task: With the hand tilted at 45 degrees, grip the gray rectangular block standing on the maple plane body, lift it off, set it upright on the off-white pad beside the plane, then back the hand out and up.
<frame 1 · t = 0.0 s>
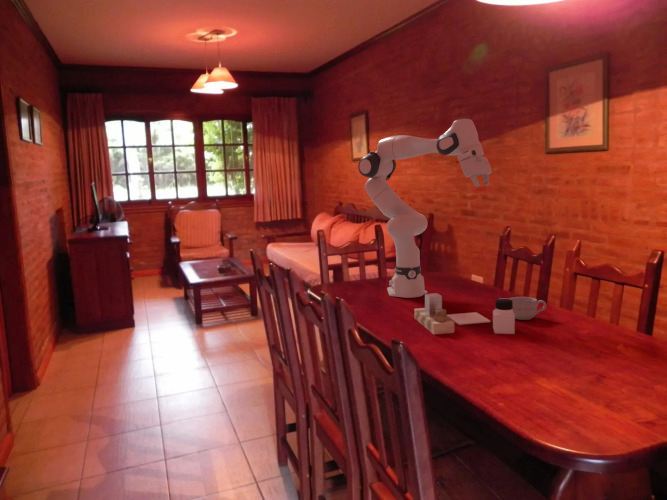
hand: (482, 185, 225), 52 cm above the table, tool tilted 20°, fingers open, 8 cm apart
off-white pad: (467, 318, 214), on the table
teacup: (526, 319, 212), on the table
medicine bottle: (503, 331, 197), on the table
gray rectangular block: (433, 315, 207), point 4 cm above the table, touching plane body
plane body: (433, 325, 207), on the table
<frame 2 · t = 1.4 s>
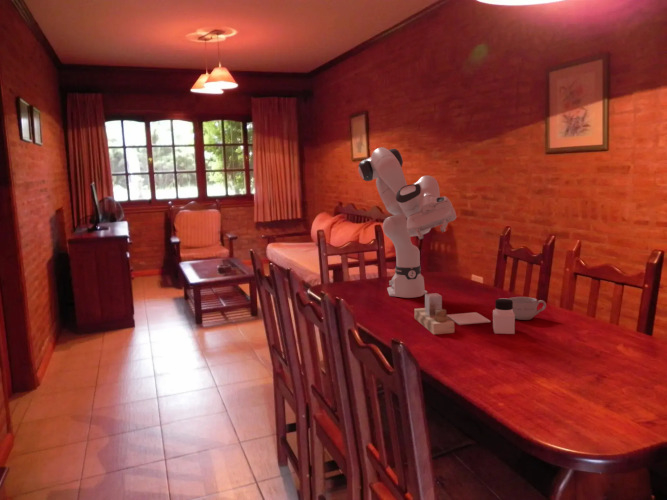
hand: (431, 234, 209), 35 cm above the table, tool tilted 45°, fingers open, 8 cm apart
nothing on the table moved.
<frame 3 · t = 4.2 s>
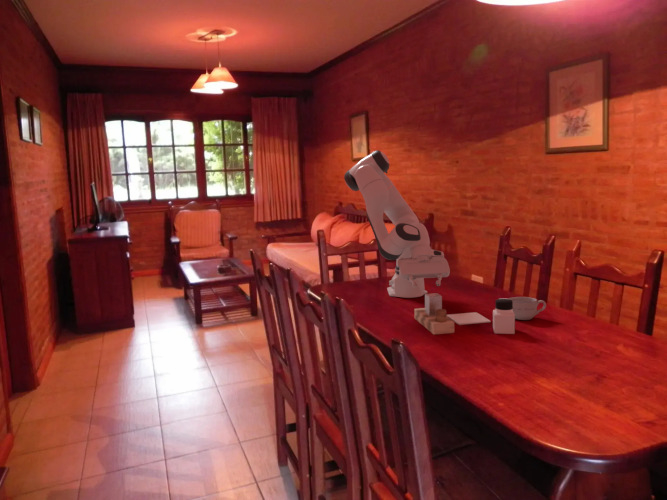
hand: (426, 285, 212), 14 cm above the table, tool tilted 45°, fingers open, 8 cm apart
nothing on the table moved.
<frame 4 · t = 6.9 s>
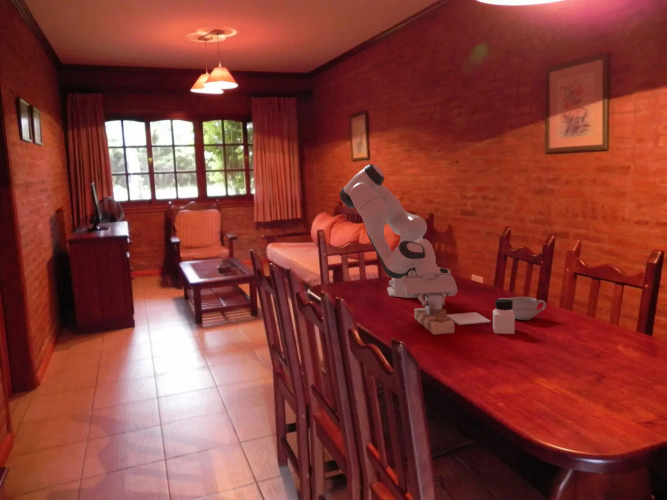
hand: (433, 305, 205), 8 cm above the table, tool tilted 45°, fingers closed on gray rectangular block, 5 cm apart
gray rectangular block: (433, 315, 207), point 4 cm above the table, touching gripper, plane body
everything else where it was.
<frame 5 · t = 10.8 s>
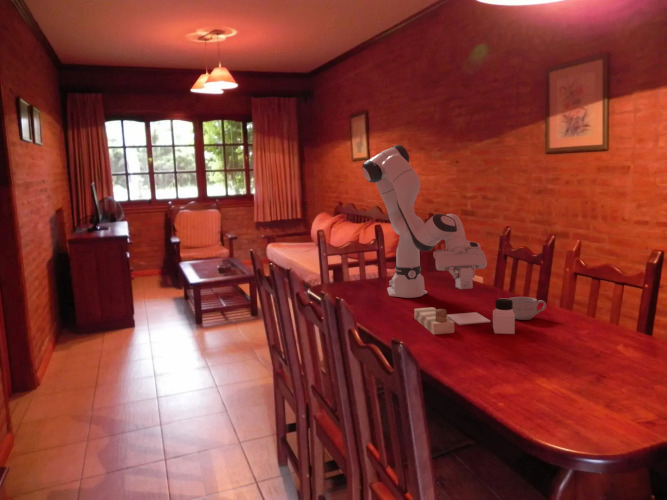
hand: (464, 277, 210), 17 cm above the table, tool tilted 45°, fingers closed on gray rectangular block, 5 cm apart
gray rectangular block: (463, 287, 211), point 13 cm above the table, touching gripper
everything else where it was.
when the fingers open (6 cm above the table, at t = 14.7 s): gray rectangular block drops 2 cm, resting on off-white pad.
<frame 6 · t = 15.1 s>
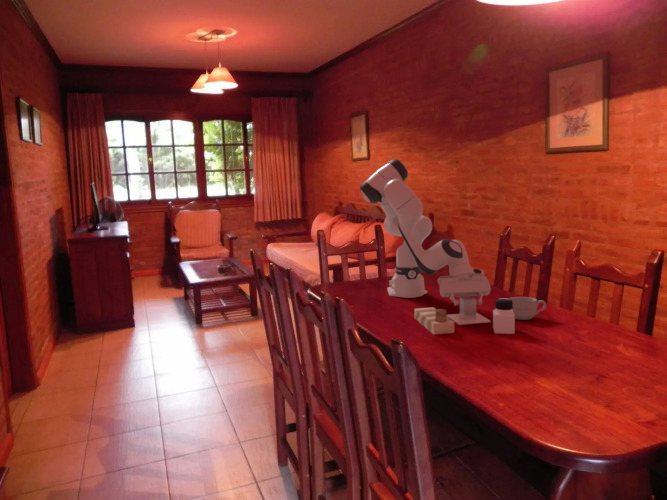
hand: (468, 304, 212), 6 cm above the table, tool tilted 45°, fingers open, 8 cm apart
gray rectangular block: (467, 317, 214), resting on off-white pad
everything else where it was.
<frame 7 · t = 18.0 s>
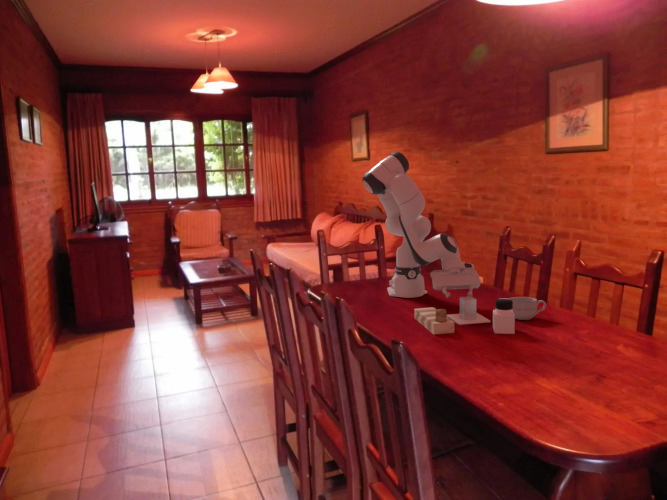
hand: (459, 296, 225), 6 cm above the table, tool tilted 45°, fingers open, 8 cm apart
nothing on the table moved.
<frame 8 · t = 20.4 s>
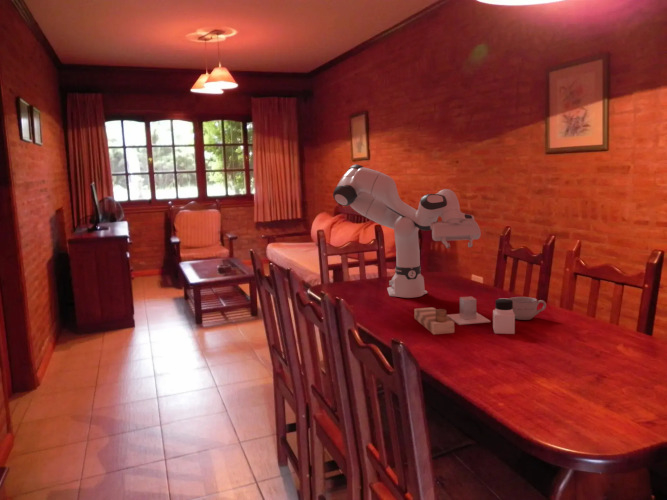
hand: (459, 246, 222), 27 cm above the table, tool tilted 45°, fingers open, 8 cm apart
nothing on the table moved.
at the end: gray rectangular block inside the target area (0.0 cm from its centre), point 0.5 cm above the table; gray rectangular block tilted 0°; the gripper is holding nothing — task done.
